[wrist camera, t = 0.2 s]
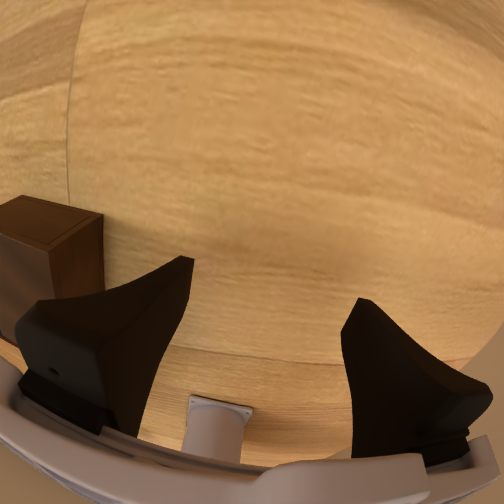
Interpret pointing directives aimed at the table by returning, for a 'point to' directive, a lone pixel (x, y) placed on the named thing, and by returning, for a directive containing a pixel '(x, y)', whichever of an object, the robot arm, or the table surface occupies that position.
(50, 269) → the cabinet
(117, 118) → the table surface
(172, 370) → the table surface
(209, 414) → the robot arm
